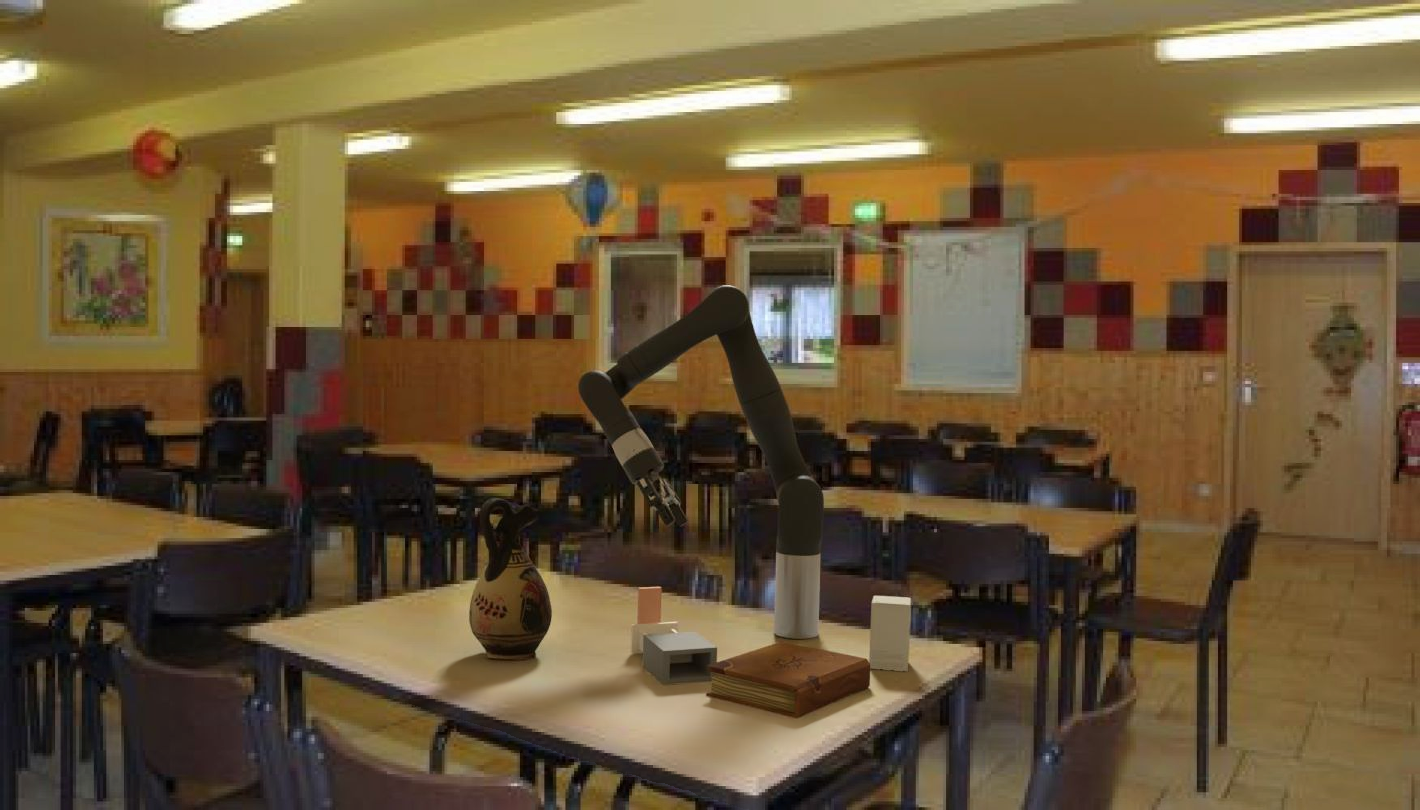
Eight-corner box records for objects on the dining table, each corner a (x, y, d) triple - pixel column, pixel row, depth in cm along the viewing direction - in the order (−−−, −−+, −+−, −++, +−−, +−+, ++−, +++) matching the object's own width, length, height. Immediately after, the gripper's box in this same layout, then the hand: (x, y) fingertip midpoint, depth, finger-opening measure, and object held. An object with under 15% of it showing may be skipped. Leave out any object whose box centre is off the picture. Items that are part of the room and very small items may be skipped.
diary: (798, 722, 187) (799, 687, 186) (706, 699, 198) (706, 665, 198) (869, 690, 205) (870, 658, 205) (781, 670, 216) (782, 640, 216)
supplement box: (908, 672, 216) (910, 605, 215) (868, 669, 217) (870, 602, 217) (909, 662, 223) (911, 596, 222) (870, 659, 224) (872, 594, 224)
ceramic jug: (519, 640, 232) (522, 490, 230) (567, 656, 221) (570, 499, 219) (445, 654, 220) (447, 496, 218) (491, 672, 209) (494, 505, 208)
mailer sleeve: (693, 663, 218) (694, 631, 218) (716, 680, 207) (717, 647, 206) (642, 667, 215) (643, 634, 214) (662, 685, 203) (663, 651, 203)
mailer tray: (669, 644, 230) (671, 586, 230) (698, 666, 214) (699, 604, 214) (625, 647, 227) (626, 588, 226) (650, 669, 211) (652, 606, 211)
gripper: (641, 443, 229) (682, 513, 225) (663, 448, 243) (702, 514, 239) (610, 464, 231) (651, 533, 227) (634, 468, 244) (673, 534, 240)
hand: (677, 524), depth 233 cm, fingers open, 8 cm apart
